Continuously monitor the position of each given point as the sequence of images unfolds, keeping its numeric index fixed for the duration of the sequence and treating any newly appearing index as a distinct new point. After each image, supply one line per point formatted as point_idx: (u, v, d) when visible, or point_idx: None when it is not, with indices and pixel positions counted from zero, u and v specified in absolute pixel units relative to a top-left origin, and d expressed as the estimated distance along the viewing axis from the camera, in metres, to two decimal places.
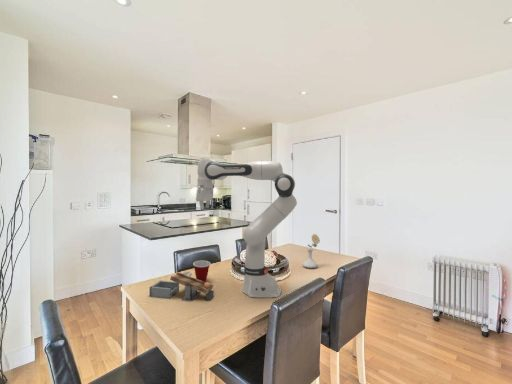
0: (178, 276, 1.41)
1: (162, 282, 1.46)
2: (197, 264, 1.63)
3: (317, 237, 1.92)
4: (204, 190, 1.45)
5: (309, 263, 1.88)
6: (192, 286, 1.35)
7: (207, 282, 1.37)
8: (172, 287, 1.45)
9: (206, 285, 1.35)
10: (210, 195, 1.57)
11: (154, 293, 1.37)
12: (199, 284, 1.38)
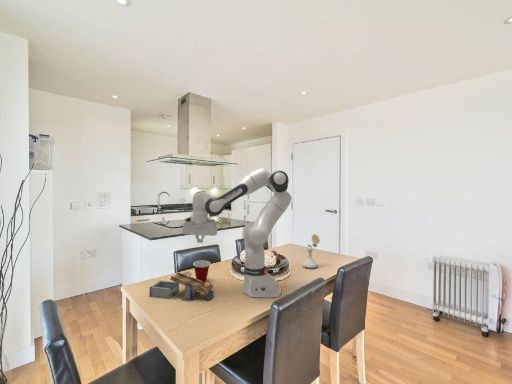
0: (178, 276, 1.41)
1: (162, 282, 1.46)
2: (197, 264, 1.63)
3: (317, 237, 1.92)
4: None
5: (309, 263, 1.88)
6: (192, 286, 1.35)
7: (207, 282, 1.37)
8: (172, 287, 1.45)
9: (206, 285, 1.35)
10: None
11: (154, 293, 1.37)
12: (199, 284, 1.38)
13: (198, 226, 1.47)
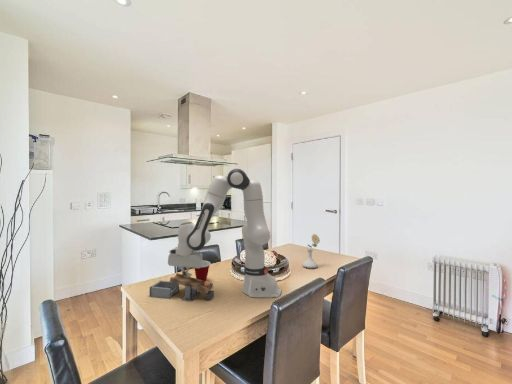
0: (178, 277, 1.41)
1: (162, 282, 1.46)
2: None
3: (317, 237, 1.92)
4: None
5: (309, 263, 1.88)
6: (192, 286, 1.35)
7: (207, 281, 1.37)
8: (172, 287, 1.45)
9: (206, 284, 1.35)
10: None
11: (154, 293, 1.37)
12: (199, 284, 1.38)
13: (183, 258, 1.45)
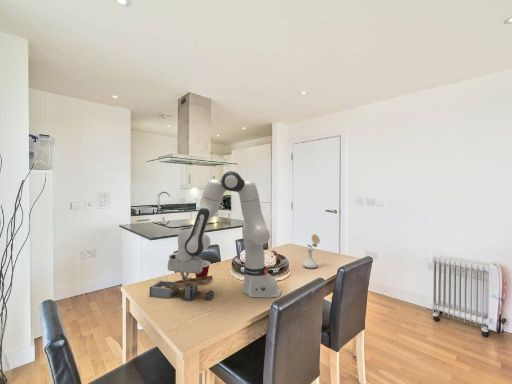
0: (177, 283, 1.41)
1: (162, 282, 1.46)
2: None
3: (317, 237, 1.92)
4: None
5: (309, 263, 1.88)
6: (192, 284, 1.35)
7: None
8: None
9: None
10: None
11: (154, 293, 1.37)
12: (199, 281, 1.38)
13: (183, 263, 1.45)
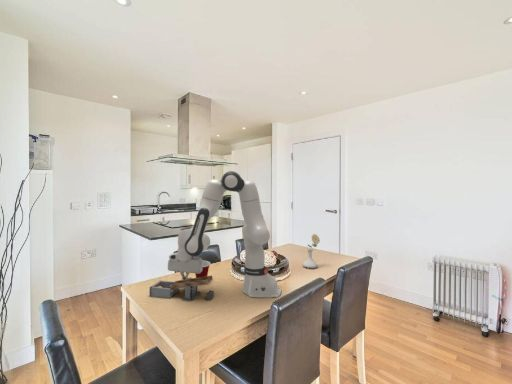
0: (177, 284, 1.41)
1: (162, 282, 1.46)
2: None
3: (317, 237, 1.92)
4: None
5: (309, 263, 1.88)
6: (192, 284, 1.35)
7: (161, 287, 1.42)
8: None
9: None
10: None
11: (154, 293, 1.37)
12: (199, 281, 1.38)
13: (183, 263, 1.45)
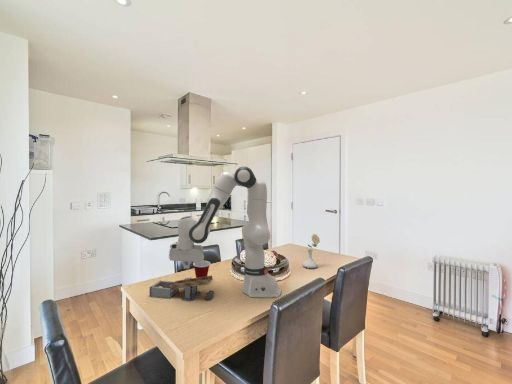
0: (177, 284, 1.41)
1: (162, 282, 1.46)
2: (197, 264, 1.63)
3: (317, 237, 1.92)
4: None
5: (309, 263, 1.88)
6: (192, 284, 1.35)
7: (162, 287, 1.42)
8: None
9: None
10: None
11: (154, 293, 1.37)
12: (199, 281, 1.38)
13: (184, 252, 1.45)
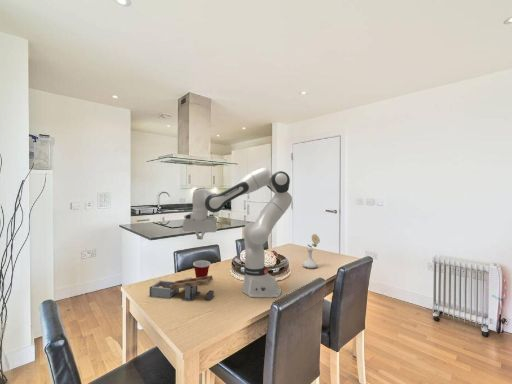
0: (177, 284, 1.41)
1: (162, 282, 1.46)
2: (197, 264, 1.63)
3: (317, 237, 1.92)
4: None
5: (309, 263, 1.88)
6: (192, 284, 1.35)
7: (162, 287, 1.42)
8: None
9: None
10: None
11: (154, 293, 1.37)
12: (199, 281, 1.38)
13: (198, 223, 1.47)
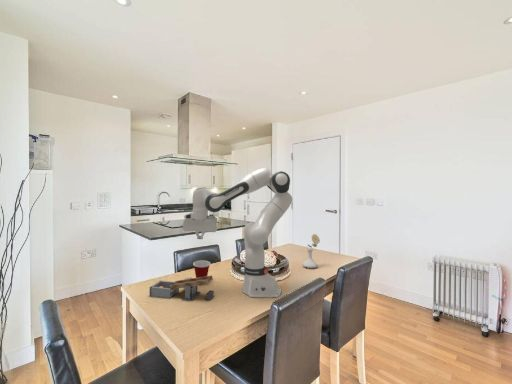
0: (177, 284, 1.41)
1: (162, 282, 1.46)
2: (197, 264, 1.63)
3: (317, 237, 1.92)
4: None
5: (309, 263, 1.88)
6: (192, 284, 1.35)
7: None
8: None
9: None
10: None
11: (154, 293, 1.37)
12: (199, 281, 1.38)
13: (198, 223, 1.47)
